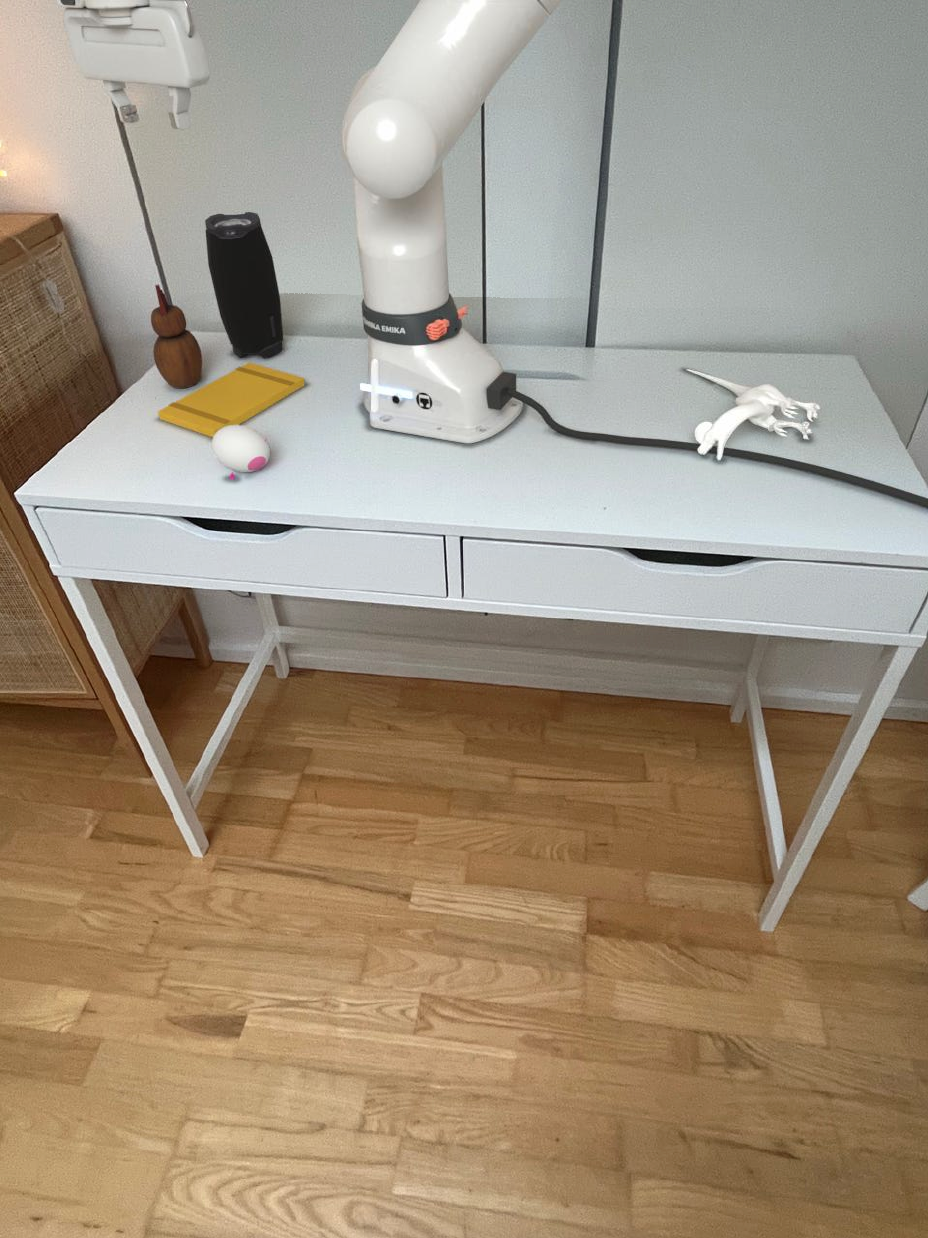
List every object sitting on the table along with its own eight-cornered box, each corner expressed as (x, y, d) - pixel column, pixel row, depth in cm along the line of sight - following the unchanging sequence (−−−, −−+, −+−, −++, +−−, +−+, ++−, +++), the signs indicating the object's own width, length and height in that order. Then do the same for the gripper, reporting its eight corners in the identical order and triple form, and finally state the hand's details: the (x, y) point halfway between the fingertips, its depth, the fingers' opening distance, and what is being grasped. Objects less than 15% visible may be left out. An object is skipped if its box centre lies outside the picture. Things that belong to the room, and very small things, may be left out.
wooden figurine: (193, 394, 121) (165, 289, 111) (157, 391, 122) (126, 288, 112) (213, 373, 126) (187, 272, 116) (178, 371, 127) (149, 271, 117)
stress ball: (282, 489, 107) (293, 438, 105) (243, 484, 99) (255, 429, 98) (235, 474, 109) (246, 424, 108) (194, 469, 102) (205, 415, 101)
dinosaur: (781, 435, 122) (673, 411, 123) (802, 376, 118) (691, 352, 119) (815, 484, 100) (683, 454, 101) (843, 413, 96) (705, 383, 97)
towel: (305, 385, 122) (303, 376, 121) (215, 438, 111) (213, 429, 110) (250, 369, 126) (248, 361, 126) (159, 419, 115) (157, 410, 114)
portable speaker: (221, 348, 133) (190, 217, 120) (275, 333, 136) (250, 205, 123) (241, 366, 127) (211, 231, 114) (297, 350, 131) (274, 218, 118)
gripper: (206, -16, 92) (233, 126, 101) (87, -18, 100) (122, 113, 110) (162, -11, 88) (194, 137, 97) (42, -13, 97) (83, 123, 106)
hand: (155, 125), depth 103 cm, fingers open, 8 cm apart
